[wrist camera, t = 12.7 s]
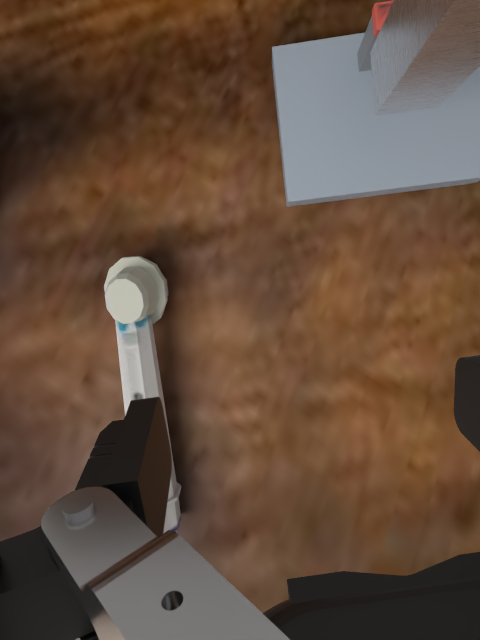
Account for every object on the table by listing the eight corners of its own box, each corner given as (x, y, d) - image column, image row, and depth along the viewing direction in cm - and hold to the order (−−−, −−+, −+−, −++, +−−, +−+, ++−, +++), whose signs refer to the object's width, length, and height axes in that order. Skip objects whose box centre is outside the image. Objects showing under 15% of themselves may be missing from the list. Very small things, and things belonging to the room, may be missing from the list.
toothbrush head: (126, 542, 41) (80, 266, 34) (145, 496, 47) (110, 255, 41) (183, 541, 40) (148, 261, 34) (195, 494, 47) (167, 251, 41)
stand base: (286, 206, 40) (291, 188, 30) (272, 64, 39) (271, -2, 29) (474, 183, 38) (540, 155, 29) (465, 34, 37) (531, -45, 28)
